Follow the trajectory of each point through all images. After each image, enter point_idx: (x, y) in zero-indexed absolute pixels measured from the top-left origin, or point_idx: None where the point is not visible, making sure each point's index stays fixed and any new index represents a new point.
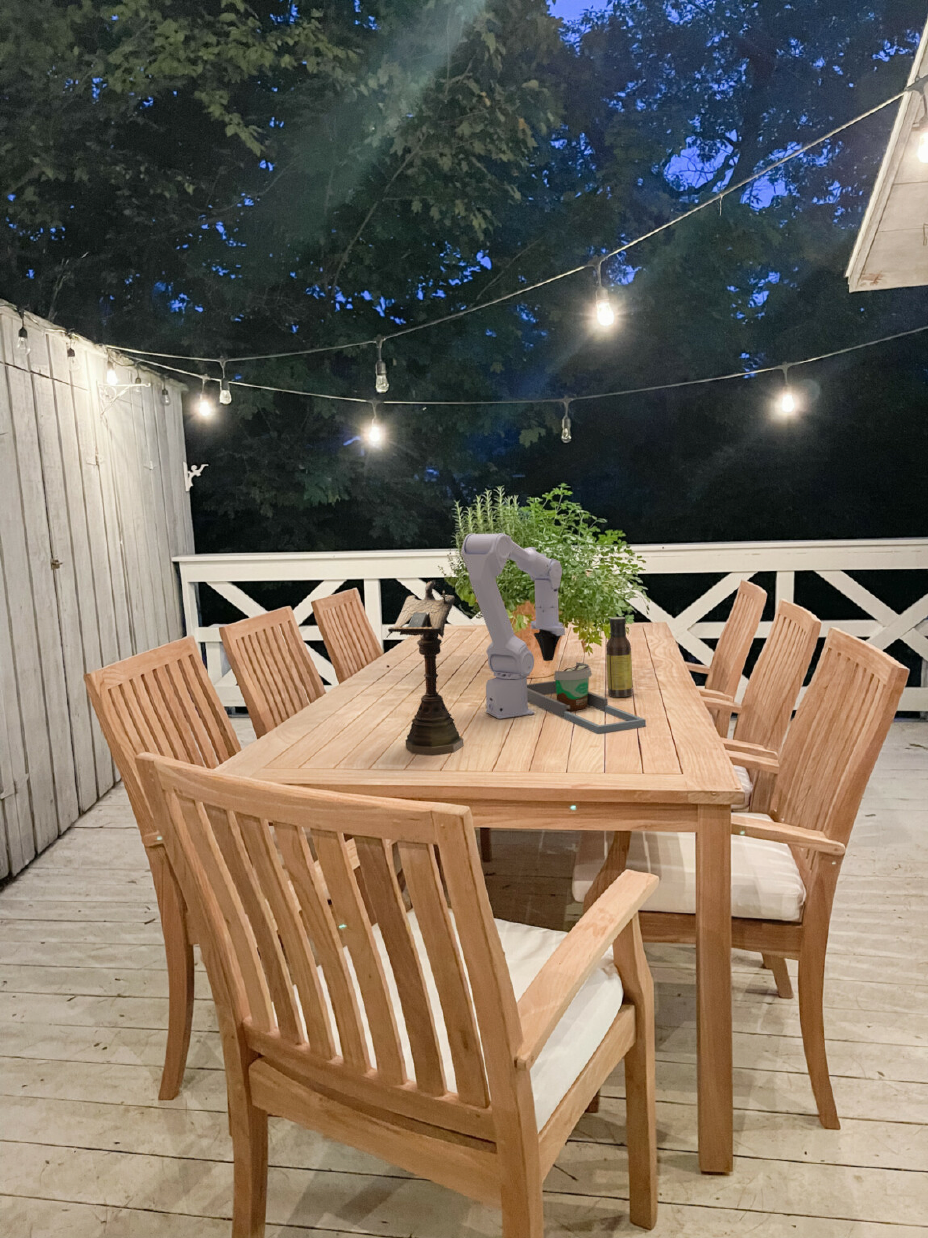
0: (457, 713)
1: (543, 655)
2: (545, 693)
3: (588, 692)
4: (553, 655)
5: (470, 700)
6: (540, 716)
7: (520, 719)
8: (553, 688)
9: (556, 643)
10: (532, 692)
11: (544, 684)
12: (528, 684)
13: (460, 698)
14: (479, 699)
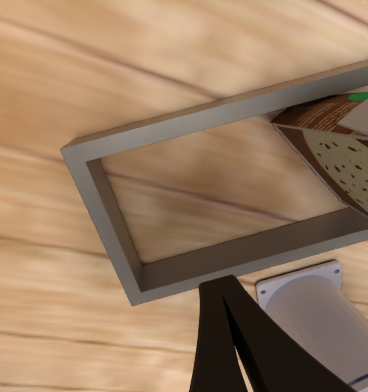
0: (248, 385)
1: (239, 354)
2: (113, 196)
3: (349, 82)
4: (250, 296)
5: (140, 370)
6: (359, 248)
7: (356, 289)
8: (98, 170)
9: (343, 386)
10: (246, 273)
11: (109, 214)
12: (122, 273)
13: (113, 387)
14: (135, 355)
